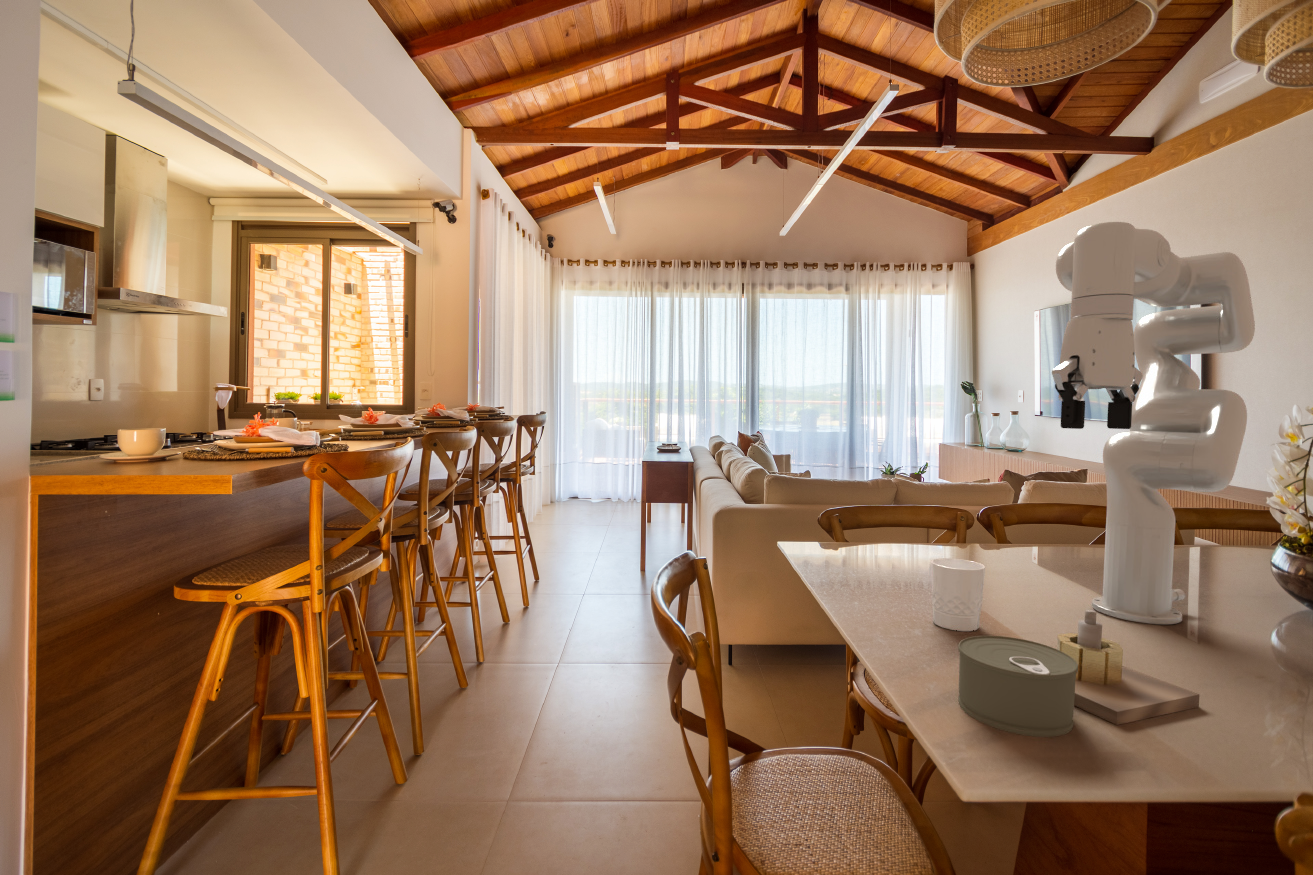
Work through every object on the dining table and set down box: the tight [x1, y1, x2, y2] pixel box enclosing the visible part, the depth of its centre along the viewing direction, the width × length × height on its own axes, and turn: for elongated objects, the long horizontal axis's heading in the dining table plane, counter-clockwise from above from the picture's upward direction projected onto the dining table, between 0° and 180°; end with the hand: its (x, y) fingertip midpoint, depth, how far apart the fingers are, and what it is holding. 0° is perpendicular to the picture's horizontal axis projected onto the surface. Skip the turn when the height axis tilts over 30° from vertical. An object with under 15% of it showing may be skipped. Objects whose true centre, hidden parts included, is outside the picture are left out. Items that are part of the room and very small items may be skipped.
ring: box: [1056, 632, 1124, 685], centre depth 82 cm, size 7×7×4 cm
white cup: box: [930, 557, 986, 632], centre depth 104 cm, size 8×8×10 cm
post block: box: [1049, 609, 1201, 726], centre depth 82 cm, size 14×17×10 cm
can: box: [957, 635, 1078, 738], centre depth 74 cm, size 12×12×7 cm
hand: (1095, 428), depth 95 cm, fingers open, 9 cm apart
